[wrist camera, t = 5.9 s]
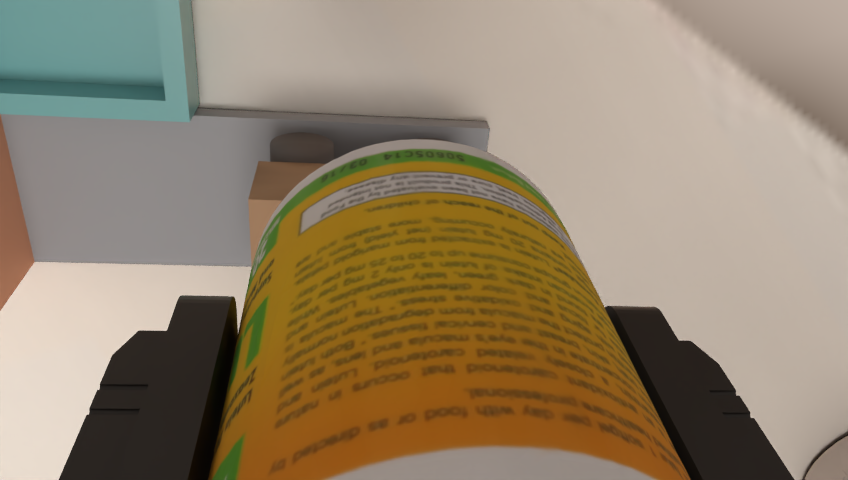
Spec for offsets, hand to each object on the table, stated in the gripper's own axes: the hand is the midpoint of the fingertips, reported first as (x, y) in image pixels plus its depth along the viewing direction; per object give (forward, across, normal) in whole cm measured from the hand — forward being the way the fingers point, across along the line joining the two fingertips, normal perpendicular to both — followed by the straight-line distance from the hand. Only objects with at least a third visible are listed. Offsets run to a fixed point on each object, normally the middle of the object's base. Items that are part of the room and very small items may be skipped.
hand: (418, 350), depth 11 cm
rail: (+20, +6, +8) cm, 22 cm away
